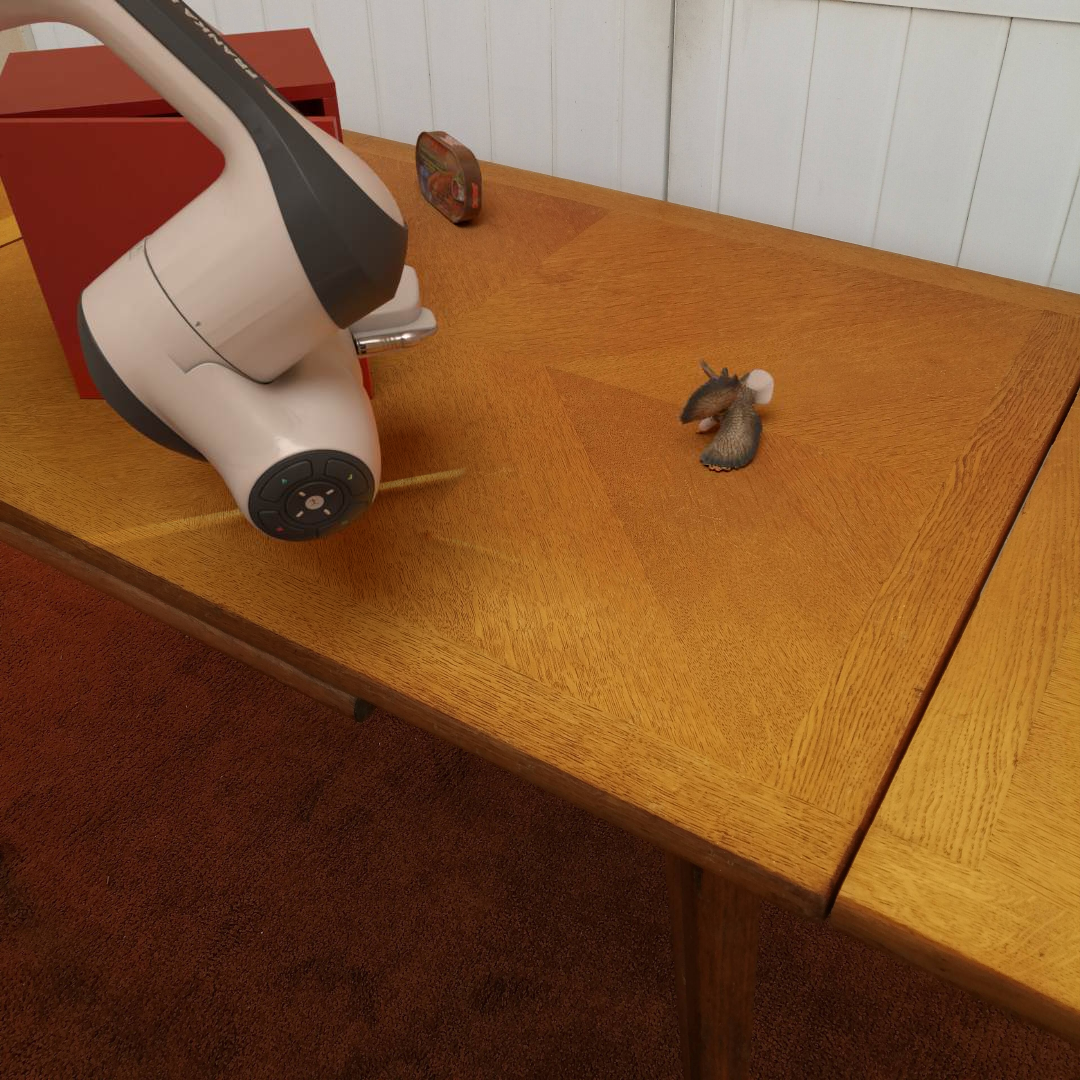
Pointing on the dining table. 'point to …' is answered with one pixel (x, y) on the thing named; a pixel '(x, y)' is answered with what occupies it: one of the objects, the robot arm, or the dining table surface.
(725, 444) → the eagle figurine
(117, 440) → the dining table surface
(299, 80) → the red cabinet
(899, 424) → the dining table surface
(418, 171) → the tin
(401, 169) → the dining table surface
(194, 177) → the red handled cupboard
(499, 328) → the dining table surface
